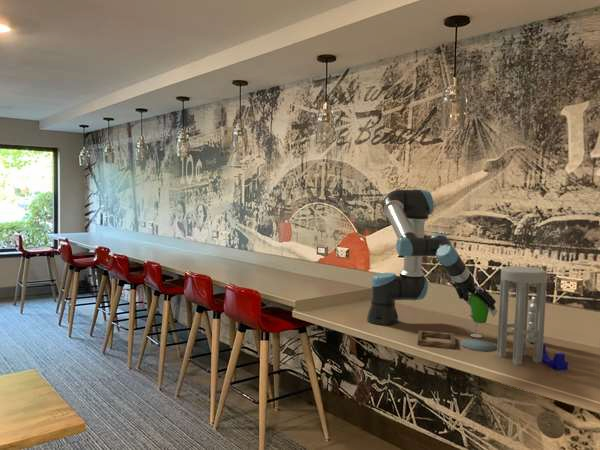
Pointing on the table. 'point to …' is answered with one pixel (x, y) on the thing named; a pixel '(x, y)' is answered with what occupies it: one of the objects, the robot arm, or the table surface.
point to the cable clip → (554, 360)
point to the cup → (478, 309)
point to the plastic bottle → (531, 317)
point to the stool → (522, 311)
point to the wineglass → (476, 325)
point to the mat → (478, 345)
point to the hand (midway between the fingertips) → (485, 311)
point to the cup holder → (436, 343)
